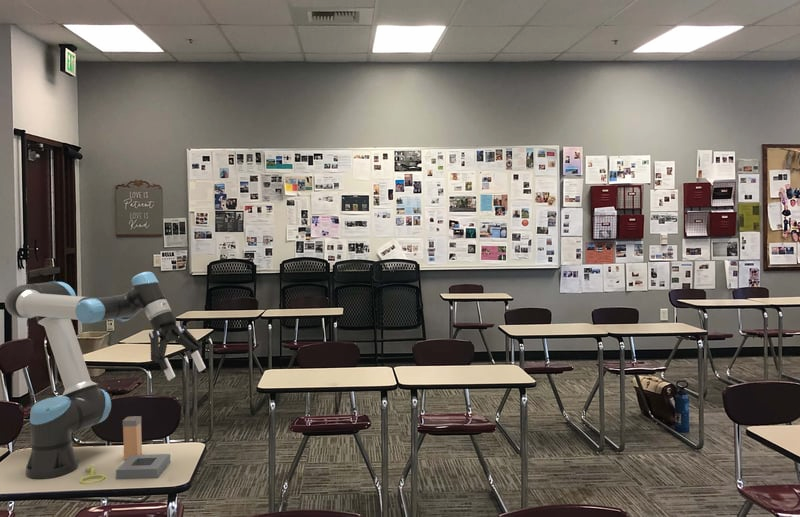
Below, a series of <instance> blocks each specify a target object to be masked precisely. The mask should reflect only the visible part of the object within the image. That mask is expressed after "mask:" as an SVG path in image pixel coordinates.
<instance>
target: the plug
mask: <svg viewBox="0 0 800 517" xmlns="http://www.w3.org/2000/svg"><path fill="white" fill-rule="evenodd" d="M122 436H123V439H122V440H123V461H126V460H127V459H128V458H129V457H130V456H131V455H143V444H142V443H143V441H142V440H143V439H142V438H143V437H142V415H140V416H135V415H134V416H127V417H125V418H124V419H123V420H122Z"/></svg>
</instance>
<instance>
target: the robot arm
mask: <svg viewBox="0 0 800 517" xmlns="http://www.w3.org/2000/svg"><path fill="white" fill-rule="evenodd" d="M131 285H132V288H131V289H130V290H128V291H127V292H126V293H123V294H118V295H117V294H116V295H111V296H103V297H90V296H80V295H79V296H77V294H76V292H75V290H74V289H73V288H72V287H71V286H70V285H69V284H68V283H65V281H64V282H63V281H47V282H40V283H39V282H38V283H37V282H36V283H27V284H26V283H25V284H21V285H18V286H15V287H14V288H12V289H11V290H10V291H9V292H8V293H7V294H6V296H5V299H4V305H5V309H6V310H7V312H8V314H10V315H11V316H13V317H16V318H19V319H32V318H36V321H37V324H38V325H41V326H43V327H44V330H45V332H46V336H47V339H48V341H49V345H50V348H51V351H52V353H53V356H54V360H55V363H56V365H57V370H58V372H59V375H60V379H61V381H62V384H63V387H64V391H63V393H62V395H58V396H54V397H48V398H44V399H42V400H40V401H37V402H36V403H35V404H33V405H32V406H31V409H30V412H29V413H30V417H29V423H30V441H31V442H30V443H31V451H30V454H29V458H28V462H27V464H26V469H25V470H26V471H25V473H26V477H27V478H30V479H41V480H42V479H51V478H56V477H61V476H63V475H67V474H68V473H72V472H73V471H75V470H76V469H77V468H78V467H79V458H78V455H77V454H76V452H75V449H74V447H73V444H72V433H75V432H78V431H81V430H83V429H84V430H85V429H87V428H89V427H90V428H91V427H93V426H95V425H98V424H99V423H102V422H103V421H106V419H107V418H108V417H109V415H110V413H111V411H112V410H111V409H112V401H111V396H110V395H109V393H108V392H107V391H106V390H105V389H102V388H99V386H98V383H97V382H94V381H93V380H92V378H91V377H90V372H89V370H88V367H87V364H86V361H85V358H84V355H83V352H82V349H81V345H80V343H79V340H78V337H77V335H76V331H75V329H74V328H75V327H74V325H73V321H72V320H78V321H79V322H81V323H82V324H97V323H99V322H105V321H110V320H116V321H119V322H127V321H129V320H130V319H133V318H135V317H136V315H137V314H139V313H140V312H142V311H144V312H145V315H146V317H147V319H148V321H149V324H150V325H151V328H152V329H153V330H152V331H151V332H149V333H148V337H149V340H150V360H151V361H152V362H155V363H156V364H158V365H159V366H160V369H161V370H162V371H163V372H164V375H165V377H166V380H167V381H171V380H172V379H174V378H175V377H176V374H175V372H174V370H173V368H172V365H171V363H170V362H169V359H168V357H165V356H166V352H167V348H168V344H169V343H174V342H175V344H177V343H178V344H180V346H182V347H184V348H185V349H186V350H188V351H189V352H190V353H191V354H190V356H191V357H192V360H193V362H194V365H195V366H196V368H197V371H198V372H202V371H204V370H205V369H206V365H205V363H204V361H203V356H202V354H201V351H200V350H201V349H202V347H203V344H201V343H200V342H199V341H198V340H197V339H196V338H195V336H193V334H192V333H191V332H190V331H189V330H188V329H187V327H186V325H184V324H182V325H180V326H179V327H178V326H177V319H176V317H175V314H174V312H172V309H171V307H170V304H169V302H168V301H167V298H166V296H165V294H164V292H163V290H162V287H161V284H160V281H159V280H158V279H157V277H156V275H155V274H154V272H151V271H143V272H140V273H137V274H136V275H134V276H133V277H132V278H131Z"/></svg>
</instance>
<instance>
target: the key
mask: <svg viewBox="0 0 800 517" xmlns="http://www.w3.org/2000/svg"><path fill="white" fill-rule="evenodd" d="M88 470H89V471H90V473H89V475H86V476H84V477H81V478H80V479H79V484H80V485H91V484H97V483H101V482H103V481H104V480H105V479H106V476H105V474H102V473H101V474H100V473H98V474H96V472H95V465H94V464H91V465H90V466H85V471H88ZM91 479H96V480H92V481H88V480H91Z"/></svg>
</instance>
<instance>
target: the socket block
mask: <svg viewBox="0 0 800 517" xmlns="http://www.w3.org/2000/svg"><path fill="white" fill-rule="evenodd" d="M168 464H169V465H170V464H171V454H170V453H160V454H159V453H154V454H153V453H151V454H142V455H131V456H130V457H129V458H128V459H127V460H124V462H123V463H122V464H120V466H118V468H117V469H116V470H115V473H116V474H115V475H116V476H115V478H116V480H129V479H130V480H131V479H135V480H136V479H159V477H160V476H161V474H162V473H164V471H165V470H166V468H167V467H168V466H169V465H168ZM167 465H168V466H167Z"/></svg>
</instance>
